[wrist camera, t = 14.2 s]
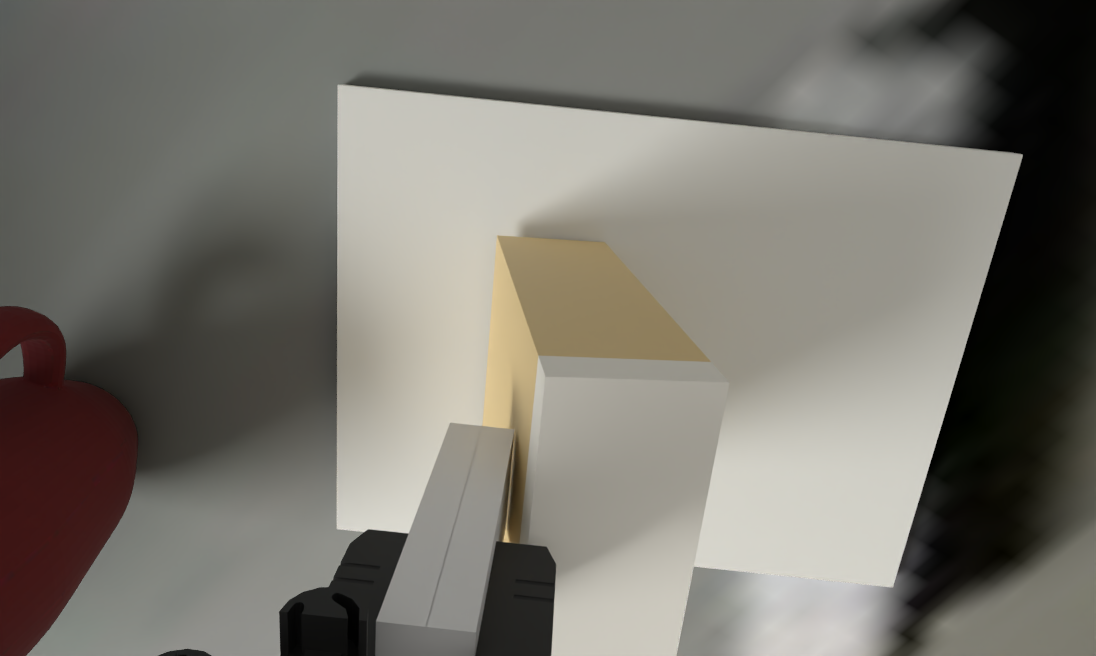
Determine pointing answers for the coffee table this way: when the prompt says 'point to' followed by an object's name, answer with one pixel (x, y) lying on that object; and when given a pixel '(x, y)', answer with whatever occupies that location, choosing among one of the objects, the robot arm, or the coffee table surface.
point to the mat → (672, 300)
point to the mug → (53, 479)
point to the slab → (601, 440)
